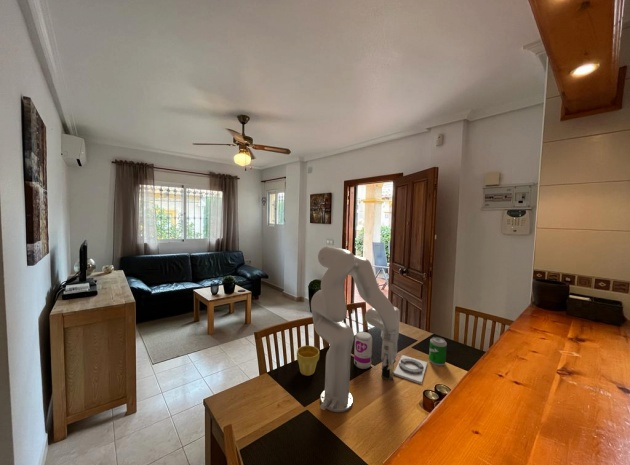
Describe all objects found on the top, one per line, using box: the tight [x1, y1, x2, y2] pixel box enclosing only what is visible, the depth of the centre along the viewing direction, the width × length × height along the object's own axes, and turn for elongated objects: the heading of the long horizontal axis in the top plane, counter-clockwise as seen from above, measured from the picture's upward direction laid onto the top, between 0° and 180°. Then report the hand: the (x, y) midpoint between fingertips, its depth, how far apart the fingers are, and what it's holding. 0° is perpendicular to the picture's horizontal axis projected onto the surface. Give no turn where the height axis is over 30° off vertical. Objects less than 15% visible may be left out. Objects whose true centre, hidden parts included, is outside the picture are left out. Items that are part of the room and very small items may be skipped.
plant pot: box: [296, 345, 320, 376], centre depth 121 cm, size 10×10×10 cm
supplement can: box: [353, 331, 373, 370], centre depth 127 cm, size 8×8×15 cm
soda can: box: [428, 336, 448, 367], centre depth 131 cm, size 8×8×12 cm
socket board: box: [394, 354, 428, 385], centre depth 125 cm, size 18×12×2 cm, turn 150°
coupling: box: [381, 358, 397, 382], centre depth 118 cm, size 5×6×9 cm
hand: (387, 372), depth 119 cm, fingers open, 5 cm apart
